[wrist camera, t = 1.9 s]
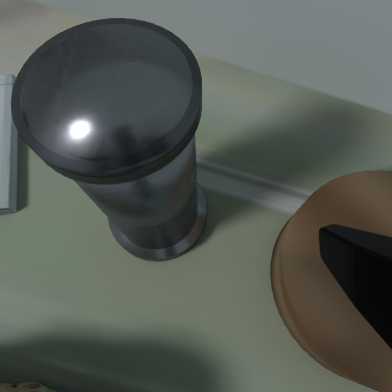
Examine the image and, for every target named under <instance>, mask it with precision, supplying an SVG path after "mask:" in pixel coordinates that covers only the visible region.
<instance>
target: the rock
mask: <svg viewBox="0 0 392 392" xmlns="http://www.w3.org/2000/svg"><path fill="white" fill-rule="evenodd" d="M0 392H58V391H55V390H51V389H49V388H47V387H45V386H43V385H42V384H40V383H38V382H26V383H15V384H9V383H5V382H0Z"/></svg>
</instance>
